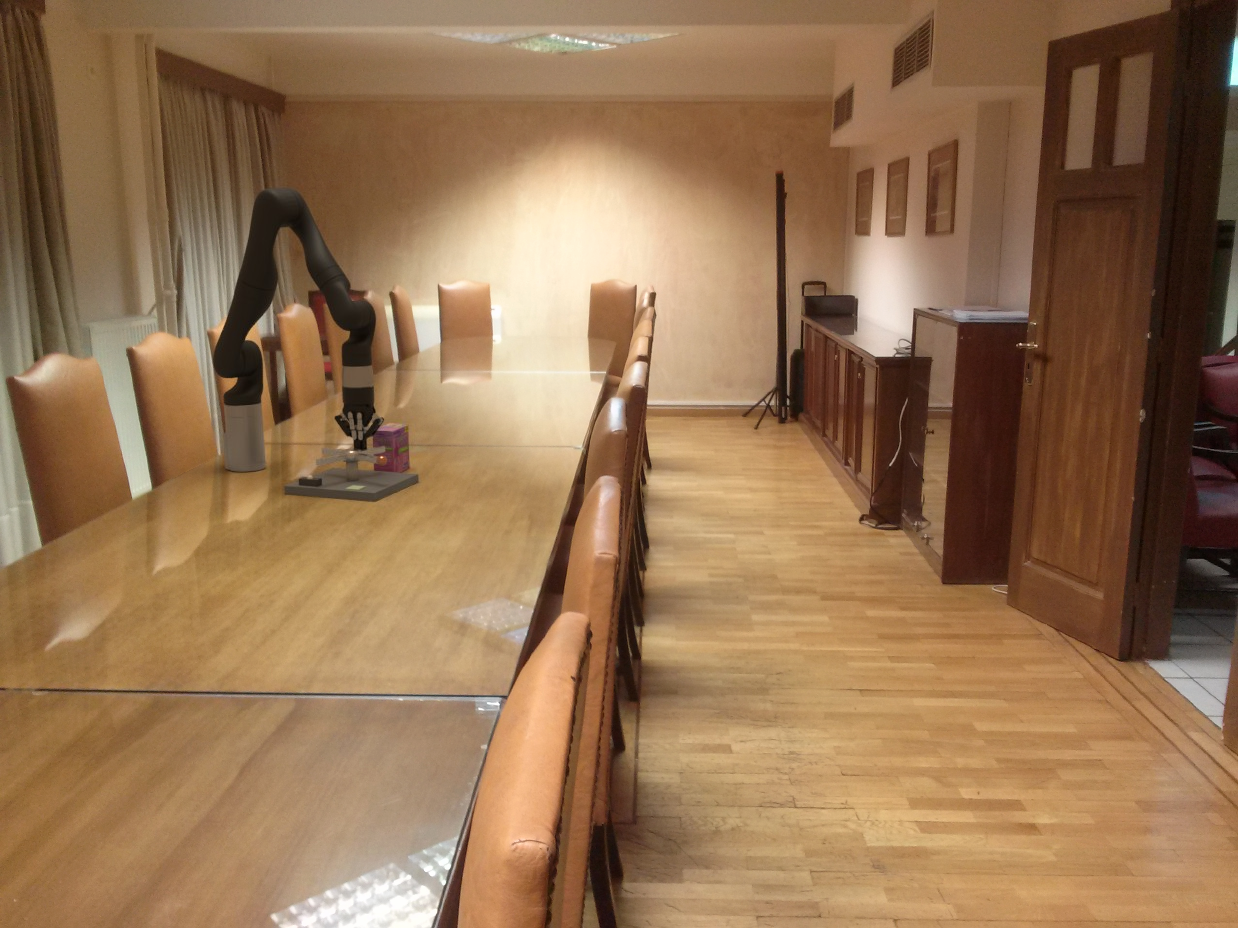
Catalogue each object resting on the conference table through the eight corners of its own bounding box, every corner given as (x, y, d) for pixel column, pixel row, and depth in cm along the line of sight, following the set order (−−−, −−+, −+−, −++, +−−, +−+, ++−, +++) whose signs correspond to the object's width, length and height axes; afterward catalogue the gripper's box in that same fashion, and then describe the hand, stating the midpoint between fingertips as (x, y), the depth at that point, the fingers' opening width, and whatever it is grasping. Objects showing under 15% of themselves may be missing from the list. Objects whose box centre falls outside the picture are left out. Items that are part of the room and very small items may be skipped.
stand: (284, 494, 254) (282, 467, 253) (333, 475, 274) (332, 450, 273) (375, 501, 247) (373, 473, 246) (418, 481, 267) (417, 456, 266)
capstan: (290, 462, 257) (290, 452, 256) (356, 449, 273) (355, 439, 272) (352, 473, 244) (351, 463, 244) (417, 459, 260) (416, 449, 260)
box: (394, 476, 273) (392, 430, 270) (373, 475, 274) (371, 429, 271) (410, 468, 283) (408, 423, 280) (390, 467, 284) (388, 423, 281)
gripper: (325, 384, 259) (328, 455, 263) (374, 387, 255) (376, 459, 259) (342, 380, 266) (345, 449, 270) (390, 383, 262) (392, 453, 266)
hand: (360, 454), depth 264 cm, fingers closed
